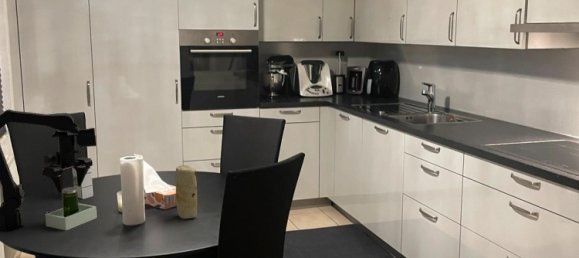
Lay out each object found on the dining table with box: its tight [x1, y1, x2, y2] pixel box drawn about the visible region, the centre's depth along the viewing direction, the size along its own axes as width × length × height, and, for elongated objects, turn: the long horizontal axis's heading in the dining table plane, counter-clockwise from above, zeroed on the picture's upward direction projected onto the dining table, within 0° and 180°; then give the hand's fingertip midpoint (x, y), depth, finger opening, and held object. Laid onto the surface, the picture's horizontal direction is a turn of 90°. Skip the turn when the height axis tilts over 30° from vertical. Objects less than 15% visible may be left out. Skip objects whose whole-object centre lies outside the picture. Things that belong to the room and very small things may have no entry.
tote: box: [44, 202, 98, 231], centre depth 207 cm, size 15×10×4 cm, turn 155°
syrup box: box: [71, 166, 94, 200], centre depth 237 cm, size 6×6×14 cm
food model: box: [175, 164, 198, 220], centre depth 212 cm, size 10×7×20 cm
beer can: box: [61, 186, 79, 217], centre depth 206 cm, size 5×5×12 cm
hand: (70, 189), depth 205 cm, fingers open, 9 cm apart
